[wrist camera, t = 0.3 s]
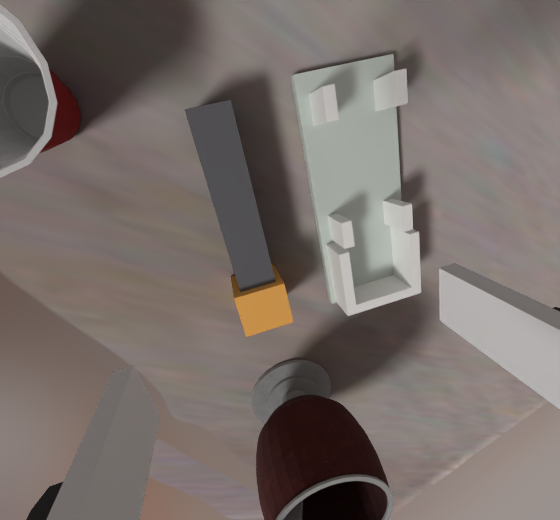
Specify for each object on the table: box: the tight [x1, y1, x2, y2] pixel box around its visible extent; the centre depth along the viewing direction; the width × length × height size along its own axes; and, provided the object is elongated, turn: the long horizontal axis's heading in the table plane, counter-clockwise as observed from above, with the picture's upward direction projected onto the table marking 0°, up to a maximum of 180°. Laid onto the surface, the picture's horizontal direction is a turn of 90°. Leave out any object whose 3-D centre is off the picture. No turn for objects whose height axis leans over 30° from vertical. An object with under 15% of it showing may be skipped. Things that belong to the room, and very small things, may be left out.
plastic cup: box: [0, 4, 81, 178], centre depth 21 cm, size 11×11×12 cm
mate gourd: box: [252, 359, 394, 520], centre depth 35 cm, size 16×14×20 cm
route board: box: [291, 54, 421, 316], centre depth 34 cm, size 27×11×5 cm, turn 12°
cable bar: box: [185, 100, 293, 337], centre depth 31 cm, size 23×6×6 cm, turn 13°
